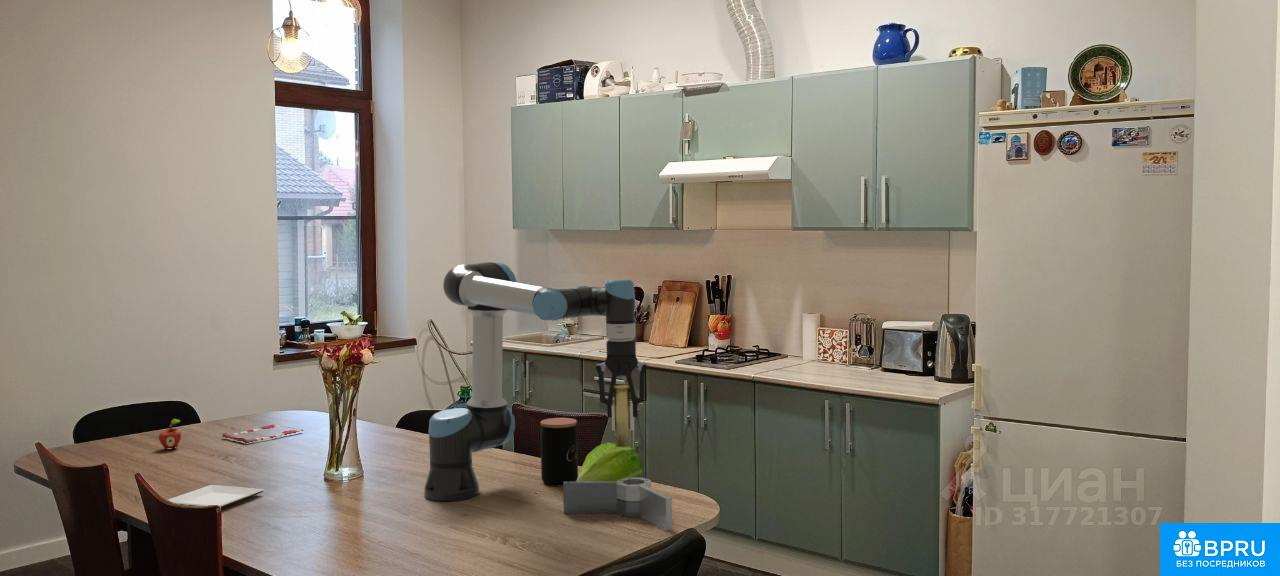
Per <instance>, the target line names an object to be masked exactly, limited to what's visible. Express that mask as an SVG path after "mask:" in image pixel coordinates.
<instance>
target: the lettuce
mask: <svg viewBox="0 0 1280 576" xmlns="http://www.w3.org/2000/svg"><path fill="white" fill-rule="evenodd" d="M643 472H644V471H643V461H642V458H641V456H640V455H639V454H638V453H637V451H636V450H635V449H634V448H632V447H631V446H628V447H617V446H616V445H615V443H614V442H613V443H612V442H604V443H602V444H601V443H600V444H599V445H597V446H596V447H595V448H593V449H592V450H591V451H590V452H589V453H588V454H587V455H586V457H585V460H584V462H583V464H582V465H581V467H580V470H579V472H578V478H577V480H576V481H617V480H620V479H624V478H642V475H643Z"/></svg>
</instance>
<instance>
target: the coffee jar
mask: <svg viewBox="0 0 1280 576" xmlns="http://www.w3.org/2000/svg"><path fill="white" fill-rule="evenodd" d="M577 423H578V420H577V419H575V418H569V417H553V418H550V417H549V418H546V419H543V420H541V421H540V426H541V429H540V465H541V466H540V469H541V472H540V473H541V480H542V481H543V483H544V485H547V484H548V485H547V486H551V485H556V486H555V487H558V486H557V485H563V482H564V481H577V479H578V476H579V466H578V463H579V462H578V459H579V457H578V428H577V427H576V426H577Z"/></svg>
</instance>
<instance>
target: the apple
mask: <svg viewBox="0 0 1280 576" xmlns="http://www.w3.org/2000/svg"><path fill="white" fill-rule="evenodd" d="M180 422H181V420H180V419H176V418H173V419H172V420H171V421H170V425H169V428H166V429H164V430H162V431H161V432H160V433H159V435H158V441H159V442H160V444H161V446H162V447H163V448H164V449H165V448H175V447H176V448H178V447H179V446H178V445H179V443H180V441H181V439H182V434H181V430H180V429H177V428H173V427H172V426H174V425H177V424H179V423H180ZM176 448H175V449H176Z"/></svg>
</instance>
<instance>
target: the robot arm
mask: <svg viewBox="0 0 1280 576" xmlns="http://www.w3.org/2000/svg"><path fill="white" fill-rule="evenodd" d="M442 287H443V292H444V295H445V296H446V298H447V299H448V300H449V301H450V302H452V303H453V304H456V305H459V306H466V307H467V311H469V312H470V313H471V315H472V365H471V368H472V369H471V370H472V373H471V374H472V378H471V382H472V383H471V384H472V385H471V397H470V398H469V400H468V401H466V407H465V408H464V407H454V408H450V409H449V408H448V409H444V410H440V411H438V412H435V413H434V414H432V416H430V419H429V421H428V423H429V424H428V438H429V439H428V440H429V441H428V442H429V444H428V445H429V470H428V471H429V472H428V473H427V474H428V475H427V477H426V482H425V484H424V489H423V490H424V491H423V492H424V498H426V499H427V500H430V501H437V502H454V501H462V500H463V501H464V500H468V499H471V498H475V497H476V496H478V495H479V494H480V484H479V482H478V479H477V475H476V473H475V469H474V466H473V453H476V452H481V451H484V450H488V449H494V448H498V447H500V446H501V445H504V444H506V443H508V442H509V440H511V438H512V437H513V434H514V432H515V429H516V419H515V416H514V415H515V414H513V411H512V410H511V408H510V407H508V401H507V400H505V398H504V397H503V339H504V338H503V337H504V334H503V332H504V327H503V326H504V315H505V314H506V313H507V312H508V311H514V312H517V313H524V314H528V315H533V316H537V317H538V318H539V319H540V320H543V321H557V320H563V319H570V318H581V317H588V316H595V317H596V316H598V317H599V316H600V317H601V316H602V317H605V334H606V335H605V337H606V339H608V340H606V358H605V360H604V362H601V363H597V364H596V365H595V370H596V372H597V375H598V387H599V388H598V390H599V401H600V403H602V404H605V405H606V406H607V408H606V409H607V410H606V411H607V418H611V431H612V432H613V431H614V432H615V403H613V401H614V389H613V385H615V384H616V383H617V379H618V377H620V376H624V377H625V378H626V381H627V383H628V385H630V388H629V390H630V400H631V403H630V431H634V429H635V427H634V425H635V424H634V423H635V422H634V421H635V420H634V418H637V417H638V416H639V414H638V412H639V410H638V409H639V407H638V406H639V404H641V403H644V402H645V391H646V389H645V387H646V383H645V382H646V370H647V368H648V364H647V363H645V362H641V361H639V360H638V358H637V352H636V351H637V347H636V343H637V342H636V340H635V338H636V319H635V311H636V308H635V307H636V303H635V302H636V294H635V283H634V281H632V280H631V279H625V278H624V279H623V278H622V279H608V280H607V279H606V281H605V282H604V286H603V287H602V286H588V285H587V286H586V285H582V286H575V287H571V288H562V289H561V288H560V289H559V288H551V287H545V286H539V285H534V284H528V283H522V282H518V281H517V278H516V276H515V274H514V272H513V271H512V269H511V268H510V267H509V266H508V265H506V264H505V263H501V262H493V261H491V262H488V261H487V262H478V263H477V262H476V263H461V264H458V265H455V266H454V267H452V268H451V269H450V270H448V272H447V273H446V275H445V277H444V279H443V286H442ZM606 367H607V369H608V370H609V371H610V373H611V379H610V384H609V391H608V396H607V397H606V385H605V384H606V383H605V373H604V372H605V371H606ZM636 367H637V370H638V371H639V393H638V394H639V396H638V397H637V392H636V388H635V384H634V379H633V374H632V373H633V371H634V370H635V368H636Z"/></svg>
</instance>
